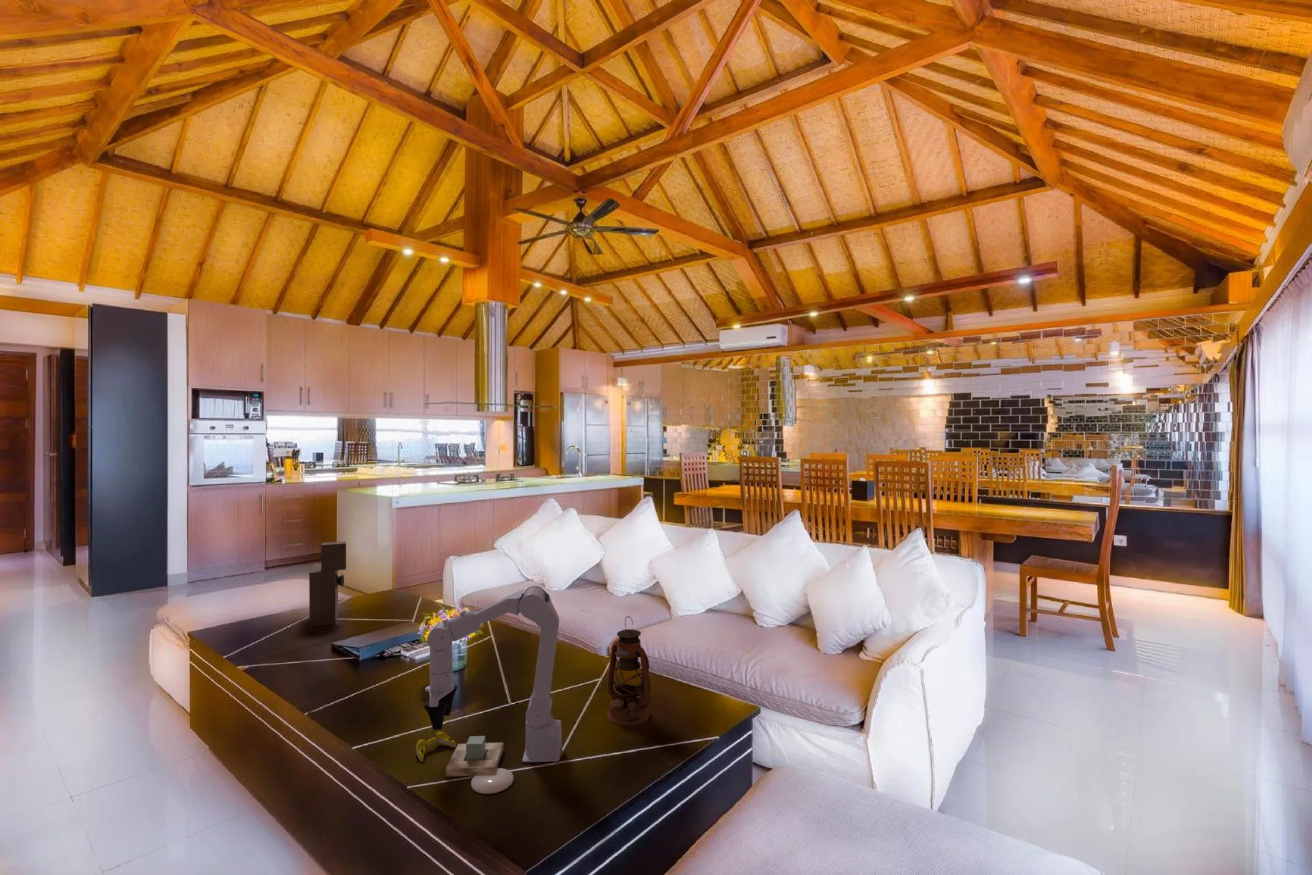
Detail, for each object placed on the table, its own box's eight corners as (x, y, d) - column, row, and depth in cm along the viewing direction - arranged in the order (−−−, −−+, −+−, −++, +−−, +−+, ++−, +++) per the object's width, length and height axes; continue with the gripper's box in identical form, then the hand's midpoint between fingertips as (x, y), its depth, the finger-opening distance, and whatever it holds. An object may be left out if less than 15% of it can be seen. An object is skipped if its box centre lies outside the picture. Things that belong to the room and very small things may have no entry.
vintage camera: (345, 622, 274) (345, 543, 273) (309, 626, 268) (308, 546, 267) (347, 610, 291) (347, 536, 290) (313, 613, 285) (313, 538, 285)
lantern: (592, 715, 186) (593, 616, 186) (620, 700, 197) (620, 606, 196) (636, 732, 176) (637, 628, 176) (663, 715, 187) (663, 617, 186)
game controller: (442, 736, 172) (445, 726, 171) (454, 751, 168) (457, 741, 167) (409, 750, 164) (411, 740, 163) (420, 767, 160) (423, 756, 160)
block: (485, 758, 162) (485, 735, 162) (482, 766, 158) (482, 743, 158) (469, 758, 162) (469, 736, 162) (466, 767, 158) (466, 744, 158)
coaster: (516, 769, 157) (516, 767, 157) (509, 793, 147) (509, 790, 147) (476, 771, 156) (476, 768, 156) (466, 794, 146) (466, 792, 146)
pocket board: (503, 749, 166) (503, 742, 166) (494, 774, 154) (494, 766, 154) (458, 751, 165) (458, 743, 165) (445, 776, 153) (445, 768, 153)
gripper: (433, 660, 168) (434, 709, 168) (416, 682, 154) (417, 736, 154) (460, 659, 169) (460, 708, 169) (445, 681, 154) (445, 735, 154)
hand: (441, 721), depth 161 cm, fingers open, 7 cm apart
